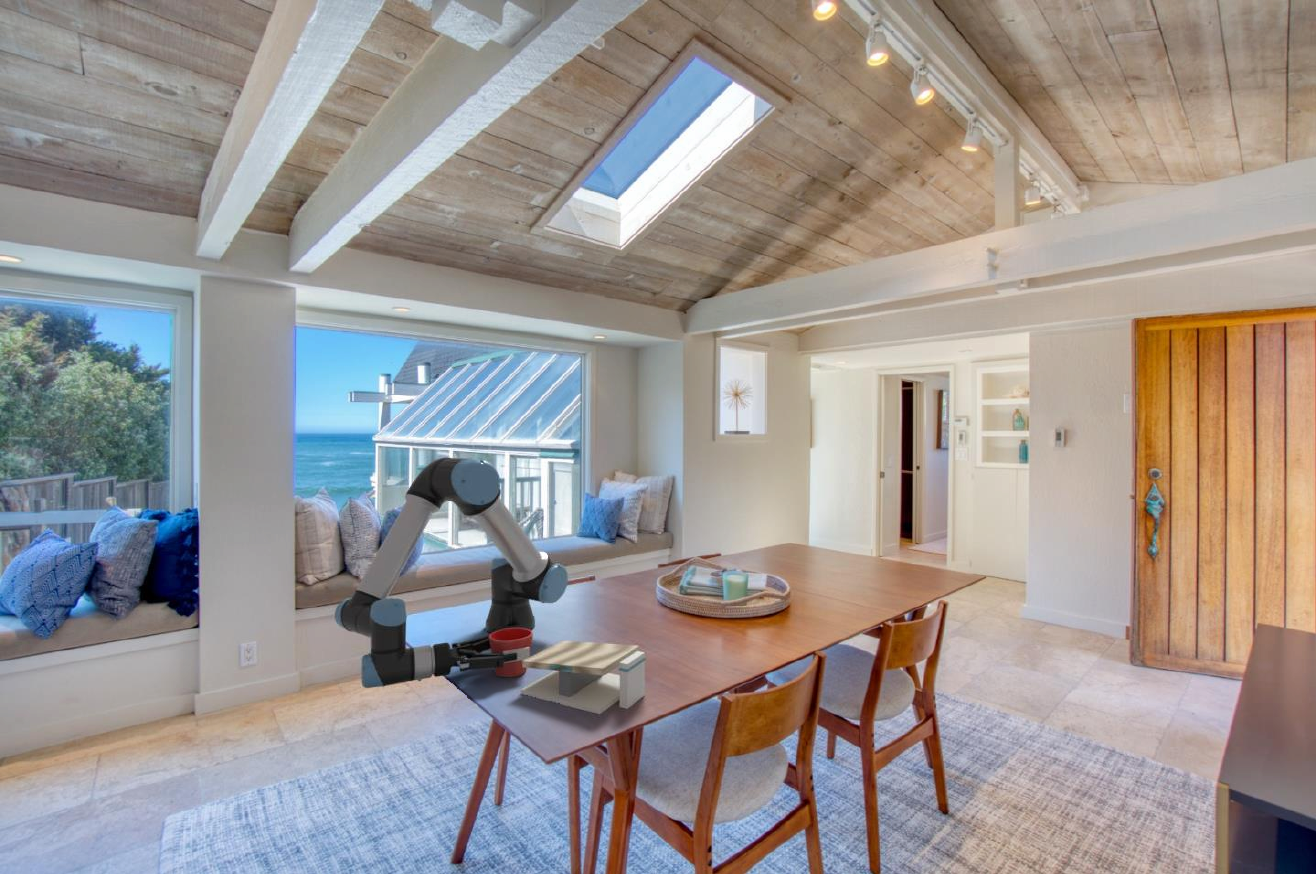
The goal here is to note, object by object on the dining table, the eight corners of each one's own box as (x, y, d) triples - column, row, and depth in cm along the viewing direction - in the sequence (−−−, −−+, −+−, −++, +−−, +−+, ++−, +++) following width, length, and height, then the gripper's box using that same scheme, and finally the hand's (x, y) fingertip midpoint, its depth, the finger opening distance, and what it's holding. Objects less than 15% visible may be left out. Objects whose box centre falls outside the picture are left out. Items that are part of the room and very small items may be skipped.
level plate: (521, 667, 141) (521, 661, 141) (563, 646, 155) (562, 640, 155) (603, 676, 130) (602, 669, 130) (639, 652, 144) (639, 645, 144)
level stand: (520, 693, 140) (521, 651, 140) (566, 667, 156) (566, 629, 156) (615, 718, 128) (615, 672, 128) (655, 687, 144) (655, 645, 144)
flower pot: (493, 664, 158) (493, 627, 158) (535, 663, 159) (535, 626, 159) (485, 680, 147) (485, 641, 147) (529, 679, 148) (530, 640, 148)
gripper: (427, 660, 154) (513, 646, 164) (438, 694, 134) (535, 676, 144) (427, 631, 154) (513, 619, 164) (438, 661, 134) (535, 645, 144)
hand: (523, 646), depth 154 cm, fingers closed on flower pot, 10 cm apart
